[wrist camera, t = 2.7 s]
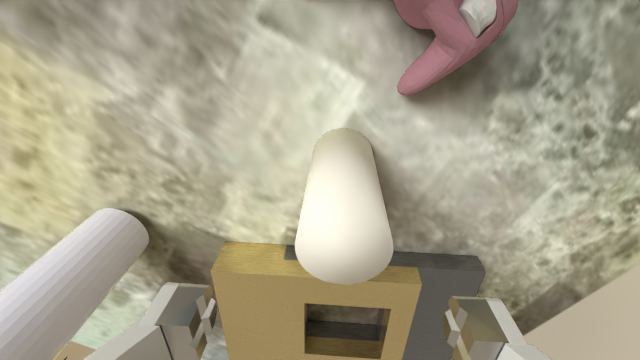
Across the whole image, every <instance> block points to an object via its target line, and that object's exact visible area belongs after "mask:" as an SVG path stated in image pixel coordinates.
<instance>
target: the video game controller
mask: <svg viewBox="0 0 640 360" xmlns="http://www.w3.org/2000/svg"><path fill="white" fill-rule="evenodd" d="M517 4H518V0H395V6H396V9H397V12H398V13H399V15H400V16H401V18H402V19H403V20H404V21H405V22H406V23H407V24H409V25H410V26H412V27H415V28H419V29H433V31H434V33H435V35H436V36H435V38H434V40H433V41H432V43H431V44H430V46H429V47H428V48H427V49H426V50H425V51H424V52H423V53H422V54H421V55H420V56H419V57H418V58H417V59H416V60H415V61H414V62H413V63H412V65H411V66H410V67H409V68H408V70H407V71H406V72H405V73H404V74H403V76H402V77H401V79H400V81H399V83H398V86H397V89H398V92H399V93H400V94H402V95H412V94H416V93H418V92H420V91H422V90H424V89H426V88H427V87H429V86H431V85H433V84H434V83H436V82H438V81H439V80H441V79H442V78H444V77H445V76H447V75H448V74H450V73H451V72H453V71H454V70H456V69H457V68H459V67H460V66H462V65H463V64H465V63H466V62H468V61H469V60H471V59H472V58H474V57H475V56H476V55H477V54H478V53H480V52H481V51H482V50H483V49H484V48H486V47H487V46H488V45H489V44H491V43H492V42H494V41H495V40H496V39H497V38H498V36H499V35H500V34H501V33H502V31H503V30H504V29H505V27H506V26H507V25H508V23H509V22H510V21H511V19H512V18H513V16H514V15H515V13H516V9H517Z"/></svg>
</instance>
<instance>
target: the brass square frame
mask: <svg viewBox="0 0 640 360" xmlns="http://www.w3.org/2000/svg"><path fill="white" fill-rule="evenodd" d="M484 274H485V270H484V268H483V266H482V264H481V263H480V261H479V259H478V257H477V256H465V255H448V254H430V253H413V252H396V251H393V255H392V258H391V260H390V262H389V264H388V265H387V267H386V268H385V269H384V270H383V271H382V272H381V273H380V274H378V275H377V276H375V277H373V278H371V279H369V280H367V281H364V282H360V283H356V284H334V283H329V282H326V281H323V280H320V279H318V278H316V277H314V276H313V275H311V274H310V273H309V272H307V271H306V270H305V269H304V268H303V267H302V265H301V264H300V262H299V261H298V258H297V256H296V253H295V246H293V245H276V244H259V243H241V242H225V243H224V245H223V247H222V249H221V251H220V253H219V255H218V257H217V259H216V261H215V263H214V265H213V267H212V269H211V276H212V280H213V285H214V290H215V294H216V299H217V304H218V308H219V313H220V317H221V322H222V327H223V331H224V336H225V341H226V345H227V350H228V354H229V359H230V360H450V358H451V355H452V353H453V351H454V348H453V347H452V346H451V345H450V344H449V343H448V342H447V340H446V337H445V334H444V329H443V318H444V315H445V312H446V311H448V310H449V309H450V307H449V305H448V302H449V300H450V298H451V297H452V296H464V297H475V296H476V294H477V291H478V289H479V287H480V284H481V282H482V279H483V277H484ZM308 303H309V304H325V305H340V306H355V307H370V308H380V310H379V315H378V321H377V325H367V324H353V323H338V322H323V321H309V320H308Z"/></svg>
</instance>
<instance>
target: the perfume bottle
mask: <svg viewBox="0 0 640 360" xmlns="http://www.w3.org/2000/svg"><path fill="white" fill-rule="evenodd" d="M148 243H149V236H148V232H147V230H146V228H145V227H144V226H143V224H142V223H141V222H140V221H139V220H138V219H136V218H135V217H134V216H132V215H130V214H129V213H126V212H124V211H121V210H118V209H112V208H106V209H101V210H98V211H96V212H95V213H94V214H92V215H91V216H90V217H89V218H88V219H86V220H85V221H84V222H83V223H82V224H80V225H79V226H78V227H77V228H75V229H74V230H73V231H72V232H71V233H69V234H68V235H67V236H66V237H64V238H63V239H62V240H61V241H60V242H58V243H57V244H56V245H55V246H54V247H52V248H51V249H50V250H49V251H47V252H46V253H45V254H44V255H43V256H41V257H40V258H39V259H38V260H36V261H35V262H34V263H33V264H32V265H30V266H29V267H28V268H27V269H25V270H24V271H23V272H22V273H21V274H19V275H18V276H17V277H16V278H15V279H13V280H12V281H11V282H10V283H8V284H7V285H6V286H5V287H4V288H2V289H1V290H0V360H55V358H56V357H57V356H58V355H59V354H60V352H61V351H62V350H63V349H64V347H65V346H66V345H67V344H68V343H69V341H70V340H71V339H72V338H73V337H74V335H75V334H76V333H77V332H78V330H79V329H80V328H81V327H82V326H83V324H84V323H85V322H86V321H87V319H88V318H89V317H90V316H91V315H92V313H93V312H94V311H95V310H96V308H97V307H98V306H99V305H100V304H101V302H102V301H103V300H104V299H105V298H106V296H107V295H108V294H109V293H110V291H111V290H112V289H113V288H114V287H115V285H116V284H117V283H118V282H119V280H120V279H121V278H122V277H123V276H124V274H125V273H126V272H127V271H128V269H129V268H130V267H131V266H132V265H133V263H134V262H135V261H136V260H137V259H138V257H139V256H140V255H141V254H142V252H143V251H144V250H145V249H146V247H147V246H148ZM66 359H67V358H65V359H64V360H66Z"/></svg>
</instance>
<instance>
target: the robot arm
mask: <svg viewBox="0 0 640 360" xmlns="http://www.w3.org/2000/svg"><path fill="white" fill-rule="evenodd" d="M213 293H214V291H213V288H212V286H211V285H201V284H188V283H171V282H167V283H166V284H164V285H163V286H162V288H161V289H160V291H159V292H158V294H157V296H156V297H155V299H154V300H153V302H152V303H151V305H150V307H149V308H148V310H147V311H146V313H145V314H144V316H143V318H142V319H141V321H140V322H139V324H138V325H134V324H133V325H132V326H131V327H129V328H128V329H126V330H125V331H123V332H122V333H120V334H119V335H118V336H116V337H115V338H113V339H112V340H110V341H109V342H107V343H106V344H105V345H103V346H102V347H100V348H99V349H97V350H96V351H94V352H93V353H92V354H90V355H89V356H87V357H86V358H85V359H83V360H200V359H201V357H202V354H203V352H204V349H205V346H206V344H207V341H206V336H205V335H207V334H208V333H209V332H210V331H211V330H212V328H213V326H214V323H215V319H216V313H217V306H216V301H215V300H214V299H212V295H213ZM448 305H449V307H450V309H449V310H448V311H446V312H445V315H444V318H443V329H444V334H445V337H446V340H447V342H448V343H449V344H450V345H451V346H452V347H453V348H454V351H453V353H452V358H453V360H552V359H551V358H549V357H548V356H547V355H545V354H544V353H543V352H542V351H540V350H539V349H538V348H536V347H535V346H534V345H530V344H527V342H526V340H525V339H524V337H523V335H522V333H521V332H520V330H519V328H518V327H517V325H516V324H515V322H514V320H513V319H512V317H511V315H510V314H509V312H508V310H507V309H506V307H505V305H504V304H503V302H502V301H501V300H500V299H499V298H485V297H483V298H482V297H464V296H452V297H451V298H450V300H449V302H448Z"/></svg>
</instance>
